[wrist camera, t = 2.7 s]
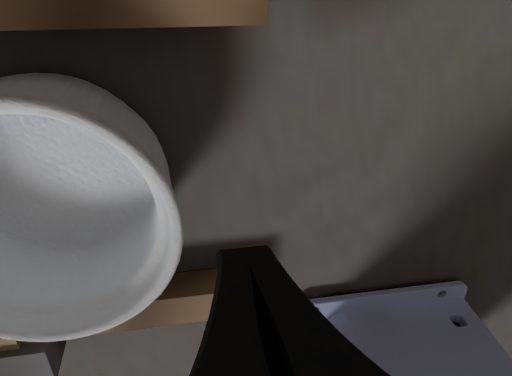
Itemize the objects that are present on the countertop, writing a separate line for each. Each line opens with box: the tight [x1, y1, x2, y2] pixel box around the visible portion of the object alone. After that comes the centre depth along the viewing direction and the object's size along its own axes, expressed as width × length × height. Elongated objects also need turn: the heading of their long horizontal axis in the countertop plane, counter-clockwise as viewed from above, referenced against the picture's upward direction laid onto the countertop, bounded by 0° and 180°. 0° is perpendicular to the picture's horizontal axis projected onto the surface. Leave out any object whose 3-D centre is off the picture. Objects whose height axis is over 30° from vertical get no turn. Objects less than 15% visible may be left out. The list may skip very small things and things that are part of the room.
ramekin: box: [0, 72, 184, 342], centre depth 15 cm, size 9×9×4 cm
